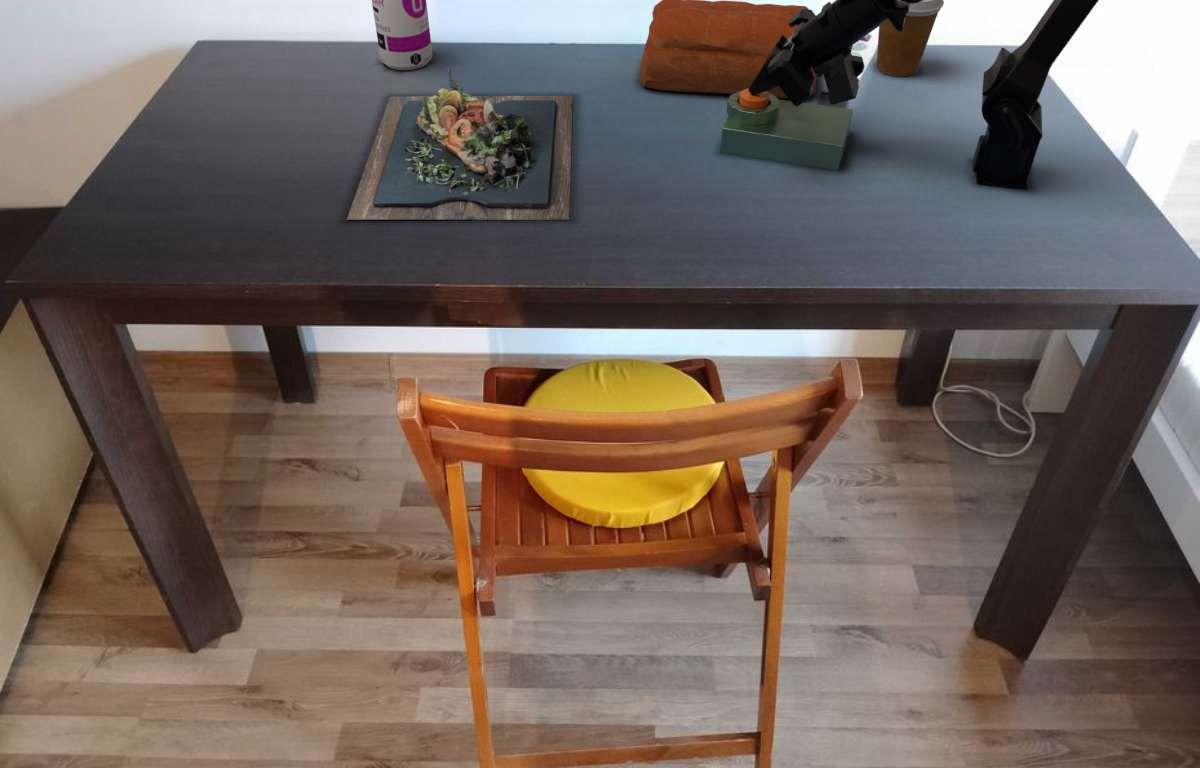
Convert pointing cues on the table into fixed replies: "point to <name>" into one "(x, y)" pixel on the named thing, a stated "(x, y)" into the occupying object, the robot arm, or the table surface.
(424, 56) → the supplement can
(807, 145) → the block
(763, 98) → the button
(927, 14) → the disposable coffee cup
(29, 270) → the table surface
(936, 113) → the table surface
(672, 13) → the bread
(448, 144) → the plated dish
